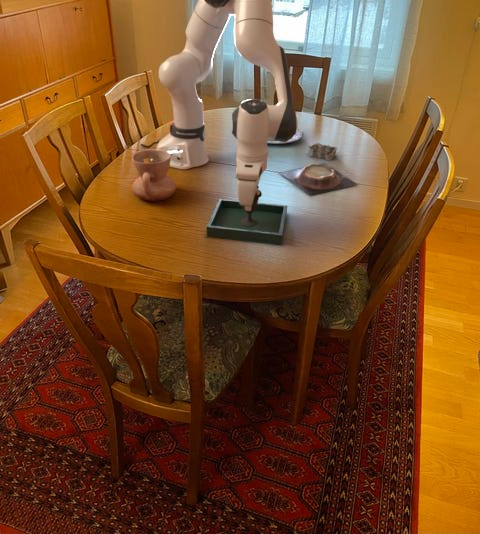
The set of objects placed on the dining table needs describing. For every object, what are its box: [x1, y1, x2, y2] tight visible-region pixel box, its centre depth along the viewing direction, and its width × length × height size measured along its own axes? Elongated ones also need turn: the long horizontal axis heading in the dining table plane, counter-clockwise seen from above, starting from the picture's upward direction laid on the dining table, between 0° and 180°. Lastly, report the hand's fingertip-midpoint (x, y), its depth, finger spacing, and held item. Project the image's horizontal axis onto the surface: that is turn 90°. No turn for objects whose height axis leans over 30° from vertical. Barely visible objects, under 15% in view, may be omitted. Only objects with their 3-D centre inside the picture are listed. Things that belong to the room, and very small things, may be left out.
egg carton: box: [308, 142, 338, 161], centre depth 184 cm, size 11×8×4 cm
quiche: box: [280, 163, 357, 196], centre depth 166 cm, size 21×20×4 cm
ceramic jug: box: [131, 148, 177, 202], centre depth 149 cm, size 18×14×14 cm
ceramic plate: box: [267, 127, 304, 145], centre depth 200 cm, size 26×26×3 cm
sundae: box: [241, 185, 263, 227], centre depth 135 cm, size 7×7×15 cm
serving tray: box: [206, 198, 288, 246], centre depth 139 cm, size 22×18×3 cm
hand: (249, 204), depth 136 cm, fingers closed on sundae, 5 cm apart
